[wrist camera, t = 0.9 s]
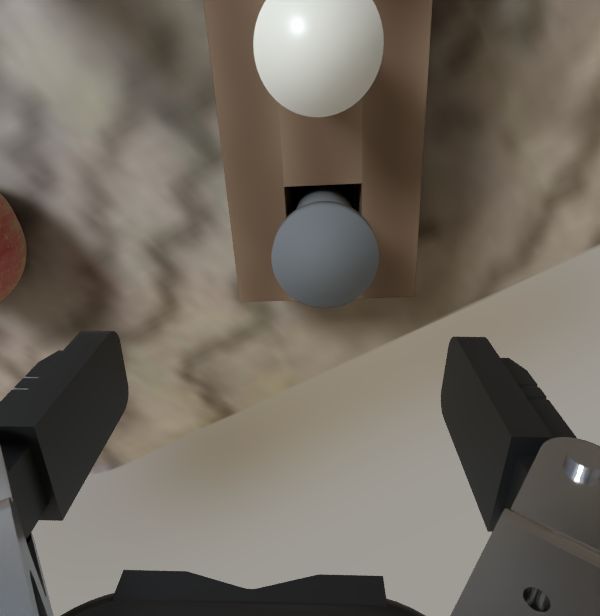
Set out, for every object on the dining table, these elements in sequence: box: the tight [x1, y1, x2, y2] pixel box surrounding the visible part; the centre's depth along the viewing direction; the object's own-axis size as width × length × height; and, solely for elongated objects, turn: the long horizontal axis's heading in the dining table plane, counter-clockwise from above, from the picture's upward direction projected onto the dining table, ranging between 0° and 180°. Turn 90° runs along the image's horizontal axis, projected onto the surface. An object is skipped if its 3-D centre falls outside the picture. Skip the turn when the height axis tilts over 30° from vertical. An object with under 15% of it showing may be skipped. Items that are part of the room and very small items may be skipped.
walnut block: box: [204, 0, 432, 302], centre depth 24 cm, size 10×25×6 cm, turn 3°
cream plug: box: [253, 0, 384, 117], centre depth 20 cm, size 5×5×7 cm
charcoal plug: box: [271, 187, 379, 308], centre depth 23 cm, size 5×5×7 cm
